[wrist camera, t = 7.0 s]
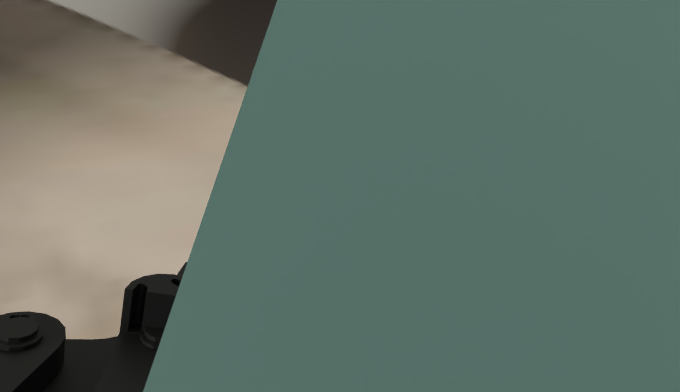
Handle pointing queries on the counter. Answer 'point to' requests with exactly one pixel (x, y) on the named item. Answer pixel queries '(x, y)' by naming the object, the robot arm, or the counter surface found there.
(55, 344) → the robot arm
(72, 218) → the counter surface
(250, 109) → the plank
